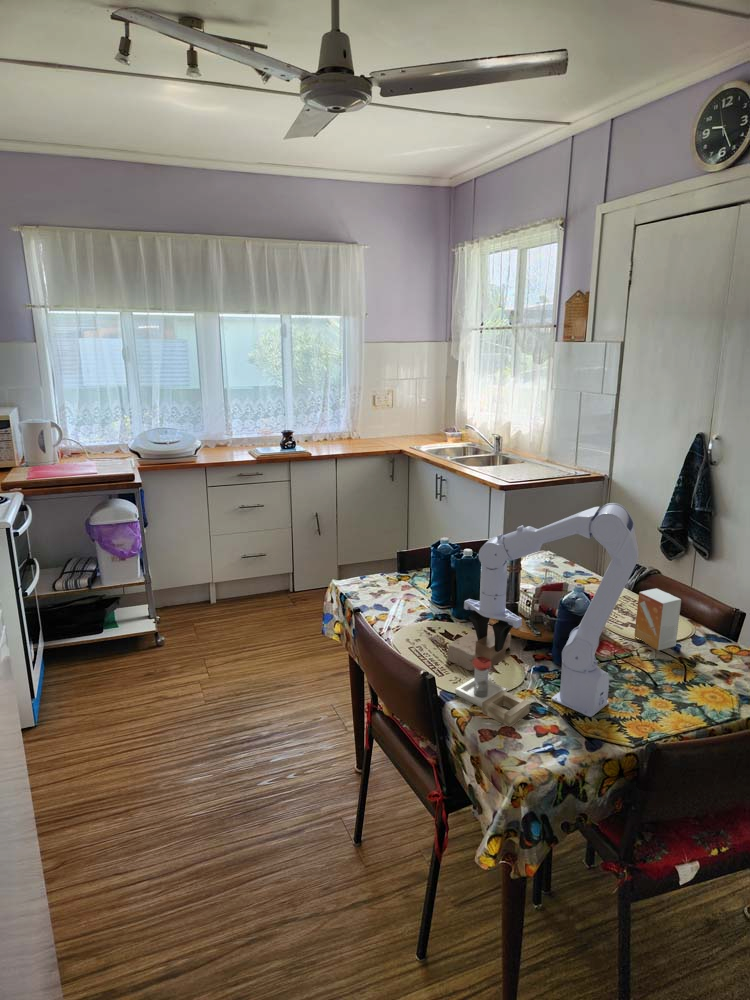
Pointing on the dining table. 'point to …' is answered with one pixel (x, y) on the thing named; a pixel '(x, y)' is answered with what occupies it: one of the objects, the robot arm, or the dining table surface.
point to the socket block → (495, 711)
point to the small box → (657, 618)
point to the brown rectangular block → (489, 649)
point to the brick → (467, 649)
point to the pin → (481, 676)
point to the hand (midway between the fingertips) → (490, 646)
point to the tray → (468, 692)
